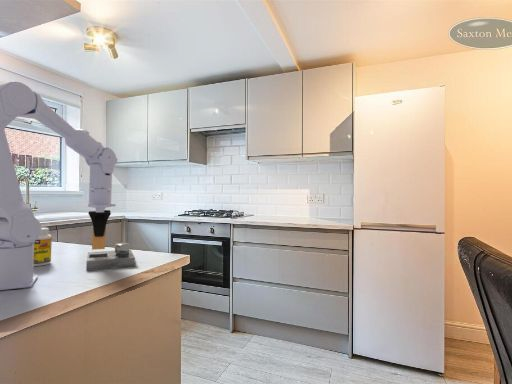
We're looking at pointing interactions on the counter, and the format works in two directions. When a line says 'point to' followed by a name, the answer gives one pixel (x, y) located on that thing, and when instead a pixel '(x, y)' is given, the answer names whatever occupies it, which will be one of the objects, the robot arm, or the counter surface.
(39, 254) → the supplement bottle
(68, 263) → the counter surface
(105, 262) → the gray tray with knob
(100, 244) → the orange rectangular box
